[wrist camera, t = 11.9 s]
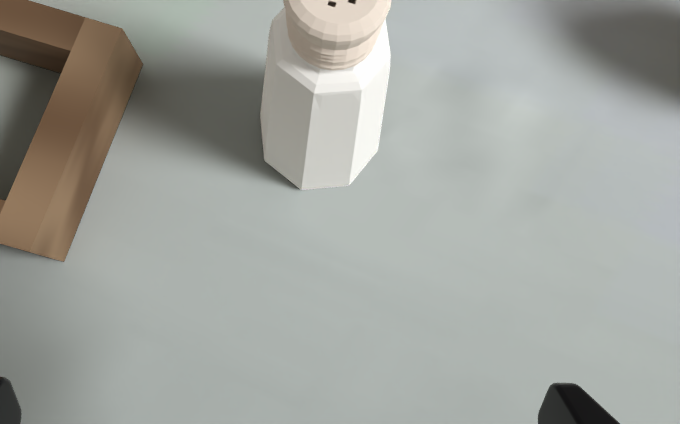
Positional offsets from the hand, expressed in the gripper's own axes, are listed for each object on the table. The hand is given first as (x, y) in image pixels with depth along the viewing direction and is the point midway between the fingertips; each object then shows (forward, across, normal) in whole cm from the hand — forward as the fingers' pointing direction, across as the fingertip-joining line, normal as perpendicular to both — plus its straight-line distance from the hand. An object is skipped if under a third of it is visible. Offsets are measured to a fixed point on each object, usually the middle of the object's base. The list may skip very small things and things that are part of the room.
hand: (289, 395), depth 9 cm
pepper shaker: (+16, -1, +3) cm, 17 cm away
